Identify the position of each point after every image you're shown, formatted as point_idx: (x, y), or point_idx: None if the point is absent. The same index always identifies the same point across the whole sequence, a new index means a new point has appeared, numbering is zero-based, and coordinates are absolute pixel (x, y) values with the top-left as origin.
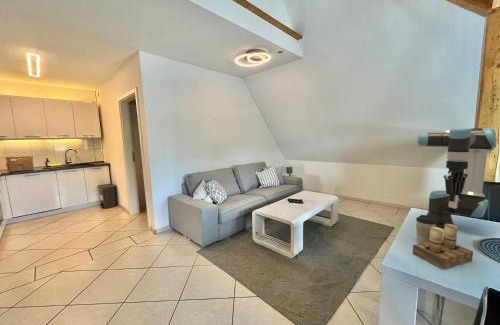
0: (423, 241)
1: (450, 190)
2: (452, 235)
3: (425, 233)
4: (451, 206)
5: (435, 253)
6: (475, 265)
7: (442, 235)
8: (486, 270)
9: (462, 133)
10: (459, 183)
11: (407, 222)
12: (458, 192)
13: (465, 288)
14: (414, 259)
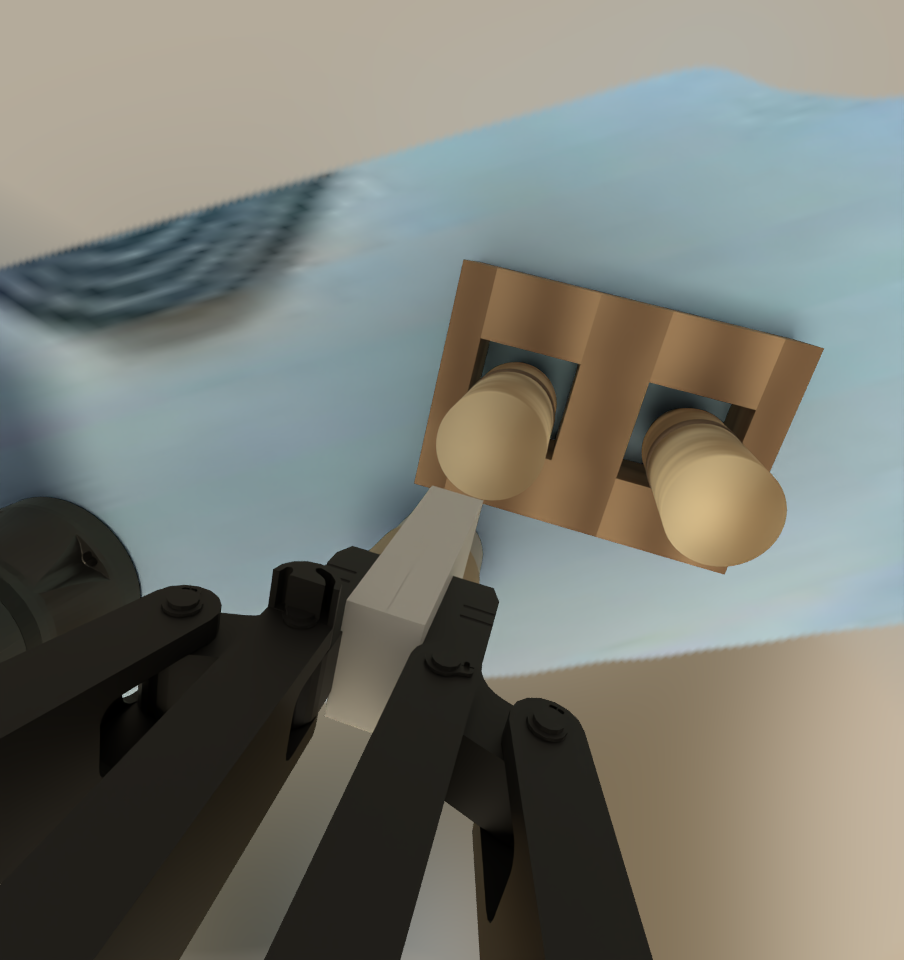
0: (480, 552)
1: (605, 851)
2: (541, 399)
3: (470, 576)
4: (466, 555)
5: (756, 421)
6: (530, 227)
7: (717, 442)
8: (548, 159)
9: None
10: (79, 916)
11: None
12: (304, 646)
13: None
14: (797, 504)
